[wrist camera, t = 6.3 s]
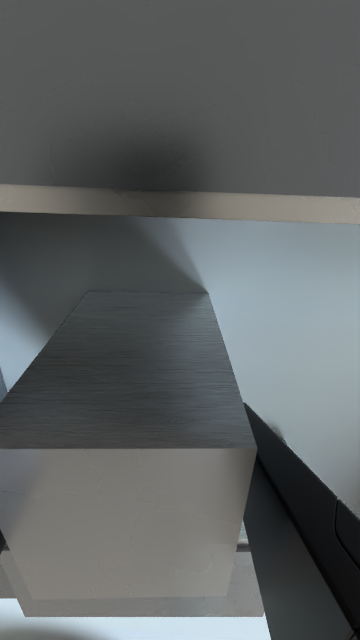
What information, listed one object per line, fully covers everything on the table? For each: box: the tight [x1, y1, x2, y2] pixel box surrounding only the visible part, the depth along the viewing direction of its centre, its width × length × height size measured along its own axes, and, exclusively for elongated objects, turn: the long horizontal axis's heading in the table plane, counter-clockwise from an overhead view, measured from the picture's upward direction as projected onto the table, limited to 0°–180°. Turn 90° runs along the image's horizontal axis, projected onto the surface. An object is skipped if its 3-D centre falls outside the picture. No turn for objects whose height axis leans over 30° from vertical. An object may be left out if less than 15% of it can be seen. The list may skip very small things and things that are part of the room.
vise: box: [0, 0, 360, 598], centre depth 11 cm, size 23×14×4 cm, turn 178°
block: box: [0, 291, 257, 600], centre depth 9 cm, size 5×4×7 cm
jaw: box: [0, 520, 264, 617], centre depth 14 cm, size 6×11×4 cm, turn 88°
